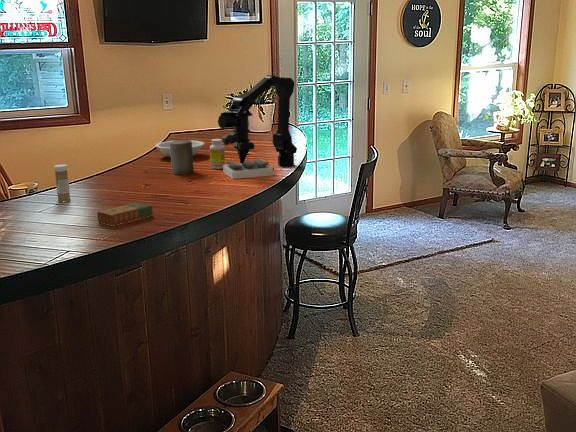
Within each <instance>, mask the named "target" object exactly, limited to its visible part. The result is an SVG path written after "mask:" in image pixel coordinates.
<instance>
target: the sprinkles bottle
mask: <svg viewBox="0 0 576 432" xmlns="http://www.w3.org/2000/svg"><path fill="white" fill-rule="evenodd" d="M53 171H54V174H55V185H56V187H55V188H56V195H57V202H58V201H59V203H64V202H63V201H68V202H70V201H71V191H70V186H69V185H70V182H69V176H68V165H67V164H56V165H53ZM69 200H70V201H69Z"/></svg>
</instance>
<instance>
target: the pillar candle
mask: <svg viewBox="0 0 576 432" xmlns="http://www.w3.org/2000/svg"><path fill="white" fill-rule="evenodd" d="M171 141H172V142H170V153H171V157H170V166H171V172H172V174H173V175H179V176H180V175H188V174H193V173H194V172H195V171H194V159H193V157H194V155H193V153H192V141H190V139H189V140H188V139H186V140H183V139H180V140H179V139H178V140H171Z"/></svg>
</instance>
